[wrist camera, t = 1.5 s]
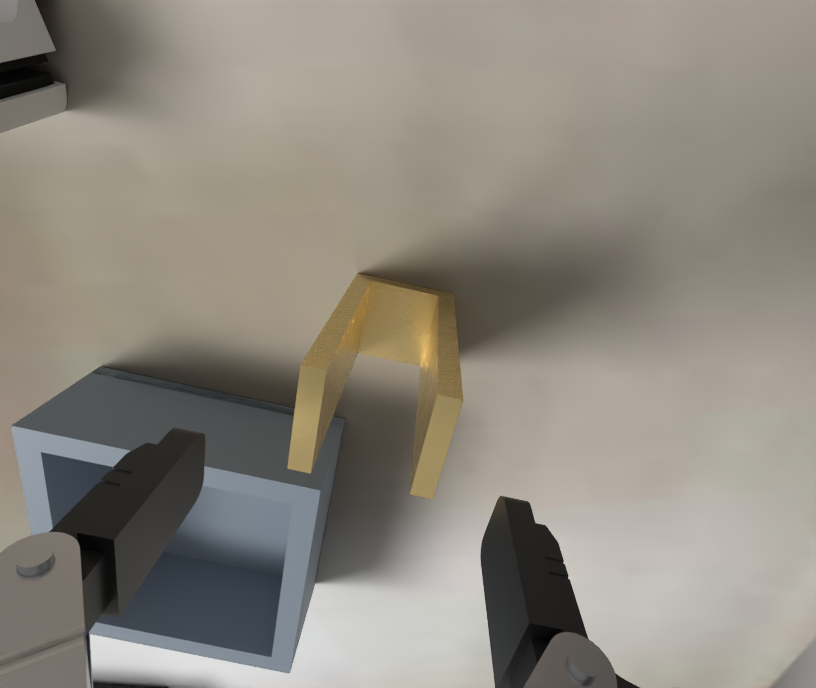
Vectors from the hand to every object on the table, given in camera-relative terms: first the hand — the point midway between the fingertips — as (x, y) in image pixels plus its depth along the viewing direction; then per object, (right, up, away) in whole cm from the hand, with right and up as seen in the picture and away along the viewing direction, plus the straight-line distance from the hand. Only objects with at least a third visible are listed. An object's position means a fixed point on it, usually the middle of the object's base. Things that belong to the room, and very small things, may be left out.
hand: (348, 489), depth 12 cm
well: (-11, -5, +17) cm, 21 cm away
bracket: (+1, +5, +12) cm, 13 cm away
